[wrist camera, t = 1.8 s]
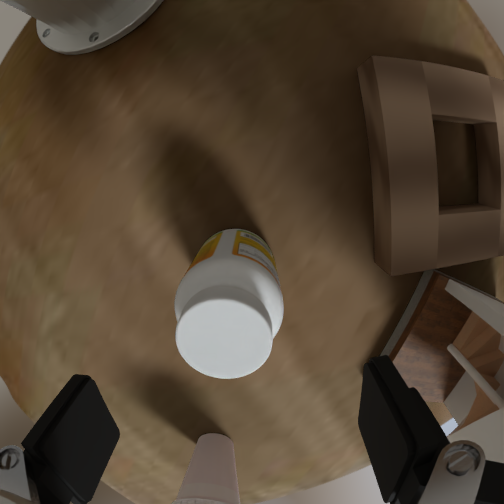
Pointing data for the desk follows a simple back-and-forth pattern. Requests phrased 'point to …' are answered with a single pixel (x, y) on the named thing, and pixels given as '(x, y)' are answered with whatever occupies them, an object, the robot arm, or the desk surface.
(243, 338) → the supplement bottle
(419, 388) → the tall seamed white column
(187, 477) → the smoothie
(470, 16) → the desk surface
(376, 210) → the socket block
